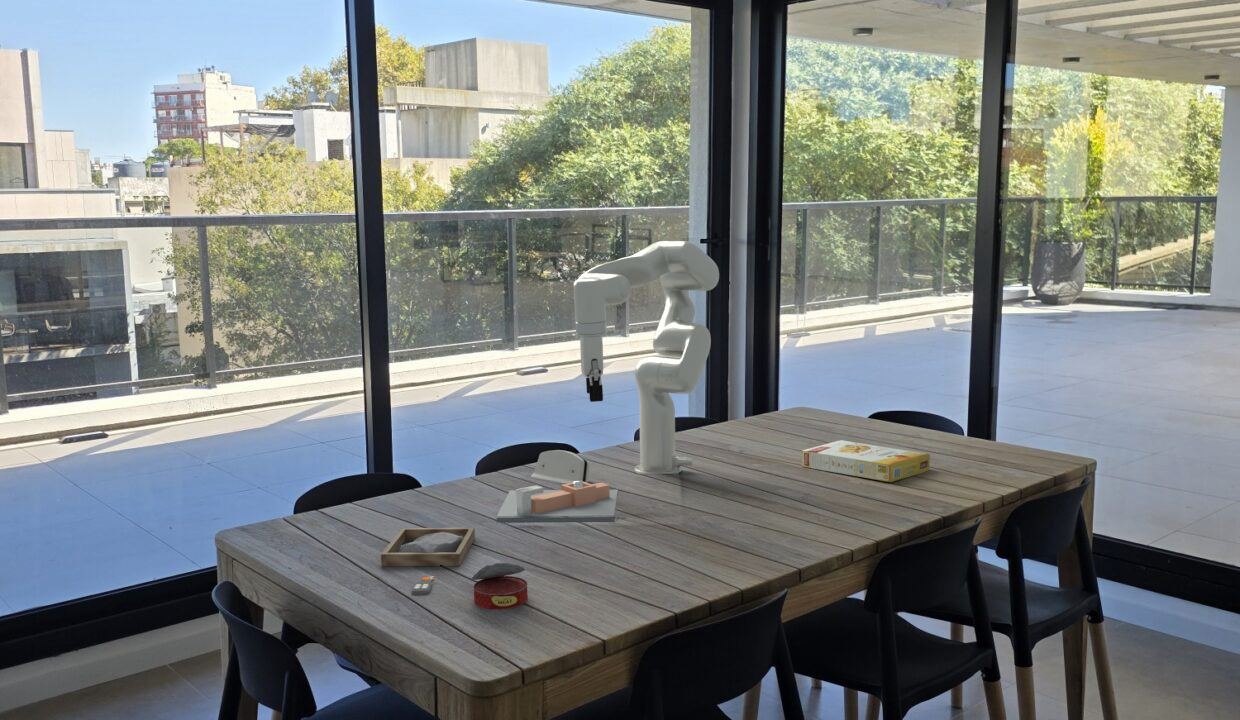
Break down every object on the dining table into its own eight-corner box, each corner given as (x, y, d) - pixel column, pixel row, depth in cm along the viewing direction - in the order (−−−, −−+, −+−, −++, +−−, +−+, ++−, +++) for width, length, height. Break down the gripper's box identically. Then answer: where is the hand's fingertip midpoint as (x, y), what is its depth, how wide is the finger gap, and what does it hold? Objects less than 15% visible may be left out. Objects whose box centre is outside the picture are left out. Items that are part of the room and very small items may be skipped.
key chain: (430, 596, 201) (430, 589, 201) (410, 597, 201) (410, 589, 201) (441, 573, 214) (441, 566, 214) (422, 573, 214) (422, 566, 214)
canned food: (476, 631, 195) (450, 583, 195) (502, 606, 205) (476, 560, 204) (524, 611, 191) (496, 562, 190) (548, 586, 200) (522, 540, 199)
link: (597, 493, 265) (597, 477, 264) (612, 498, 260) (612, 482, 260) (524, 509, 252) (524, 492, 251) (538, 514, 247) (538, 497, 247)
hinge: (527, 482, 283) (535, 445, 284) (539, 485, 286) (547, 448, 288) (575, 492, 272) (583, 453, 273) (586, 494, 276) (594, 456, 277)
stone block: (396, 568, 222) (434, 565, 217) (392, 545, 222) (430, 542, 217) (432, 554, 233) (469, 551, 228) (428, 532, 232) (465, 528, 228)
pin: (583, 506, 259) (583, 480, 258) (583, 509, 257) (582, 482, 256) (574, 506, 259) (573, 480, 258) (573, 509, 257) (573, 482, 256)
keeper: (537, 515, 252) (536, 485, 251) (544, 517, 250) (543, 487, 249) (516, 519, 249) (515, 489, 248) (523, 522, 247) (522, 491, 246)
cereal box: (891, 463, 274) (800, 447, 294) (890, 485, 275) (799, 467, 294) (931, 452, 288) (841, 437, 308) (930, 472, 289) (841, 456, 309)
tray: (474, 538, 235) (474, 527, 235) (460, 565, 217) (459, 553, 217) (402, 539, 235) (401, 528, 235) (381, 566, 218) (380, 554, 217)
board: (617, 495, 268) (617, 489, 268) (614, 521, 246) (614, 515, 245) (510, 496, 269) (510, 490, 269) (496, 522, 247) (496, 516, 246)
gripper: (573, 324, 271) (577, 390, 274) (578, 335, 254) (582, 405, 257) (603, 322, 271) (606, 388, 274) (609, 333, 254) (613, 403, 257)
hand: (594, 396), depth 266 cm, fingers open, 9 cm apart
